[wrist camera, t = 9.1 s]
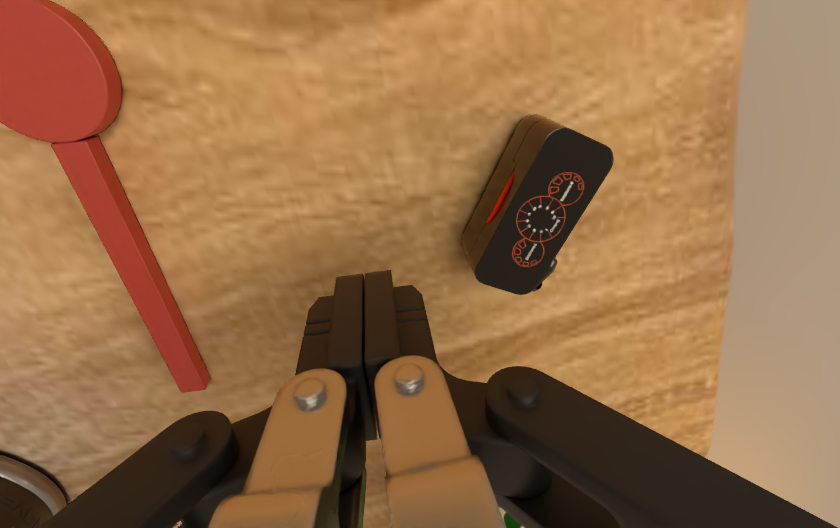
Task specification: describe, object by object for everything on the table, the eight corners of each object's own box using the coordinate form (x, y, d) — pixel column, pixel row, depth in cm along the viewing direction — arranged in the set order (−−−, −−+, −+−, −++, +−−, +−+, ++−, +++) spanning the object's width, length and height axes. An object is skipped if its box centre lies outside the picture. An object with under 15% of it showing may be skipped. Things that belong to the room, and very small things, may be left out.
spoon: (156, 385, 21) (147, 399, 20) (-63, -1, 12) (-92, -5, 11) (242, 374, 21) (236, 387, 20) (85, -12, 12) (66, -16, 12)
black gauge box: (447, 257, 19) (460, 295, 16) (521, 106, 16) (554, 121, 13) (530, 284, 20) (556, 324, 17) (614, 149, 17) (662, 172, 14)
